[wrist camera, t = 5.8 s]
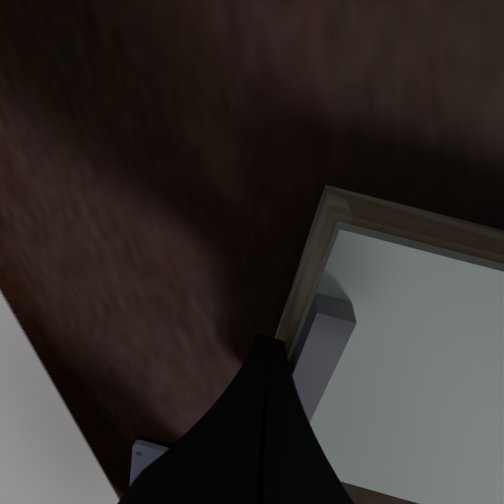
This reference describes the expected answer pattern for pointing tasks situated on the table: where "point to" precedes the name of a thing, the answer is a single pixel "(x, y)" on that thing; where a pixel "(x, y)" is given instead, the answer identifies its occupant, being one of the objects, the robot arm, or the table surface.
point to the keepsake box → (386, 221)
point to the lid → (405, 368)
